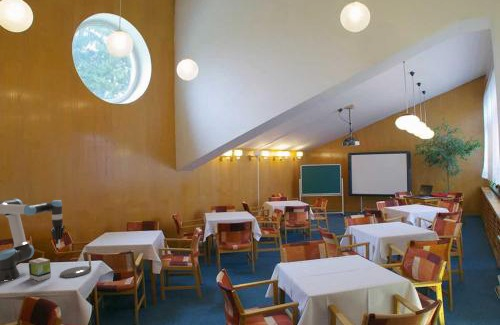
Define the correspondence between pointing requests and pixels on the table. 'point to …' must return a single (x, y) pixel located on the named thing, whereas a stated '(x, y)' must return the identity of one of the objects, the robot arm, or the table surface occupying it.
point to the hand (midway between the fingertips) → (58, 247)
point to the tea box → (39, 269)
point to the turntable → (76, 271)
